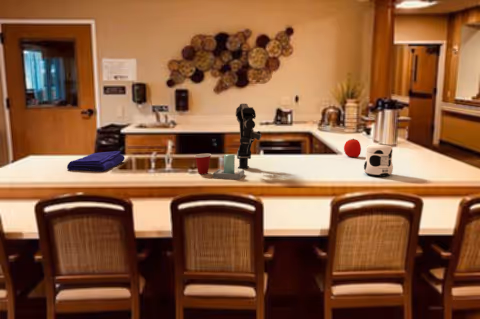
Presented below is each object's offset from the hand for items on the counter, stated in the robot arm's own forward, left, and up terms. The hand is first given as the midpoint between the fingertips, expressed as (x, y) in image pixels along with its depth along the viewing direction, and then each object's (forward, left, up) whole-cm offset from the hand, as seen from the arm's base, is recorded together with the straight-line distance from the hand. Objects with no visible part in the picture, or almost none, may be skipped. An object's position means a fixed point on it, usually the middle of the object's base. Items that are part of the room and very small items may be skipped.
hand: (247, 152), depth 301 cm
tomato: (-76, +65, -13) cm, 101 cm away
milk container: (-14, +80, -13) cm, 82 cm away
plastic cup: (+8, -27, -13) cm, 31 cm away
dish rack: (+12, -9, -13) cm, 20 cm away
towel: (+2, -102, -14) cm, 103 cm away
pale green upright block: (+12, -9, -12) cm, 19 cm away
